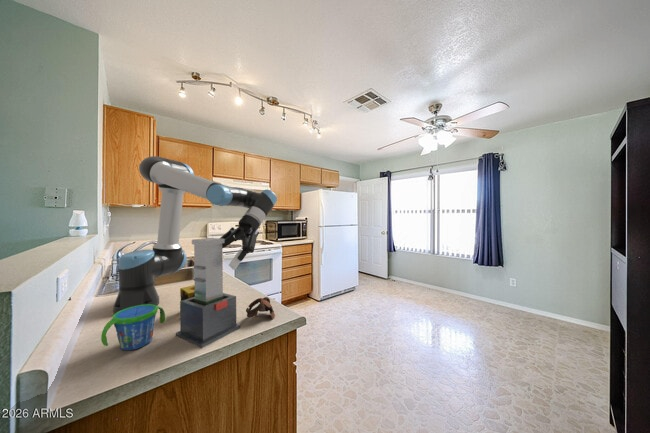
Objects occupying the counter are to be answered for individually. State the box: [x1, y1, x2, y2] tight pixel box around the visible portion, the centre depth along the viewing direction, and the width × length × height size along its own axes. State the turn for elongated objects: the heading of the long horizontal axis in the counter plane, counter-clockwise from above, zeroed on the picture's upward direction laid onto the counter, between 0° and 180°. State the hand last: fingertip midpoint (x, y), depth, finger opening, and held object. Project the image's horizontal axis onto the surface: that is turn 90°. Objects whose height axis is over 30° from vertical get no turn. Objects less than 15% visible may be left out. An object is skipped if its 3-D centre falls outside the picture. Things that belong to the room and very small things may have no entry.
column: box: [191, 237, 225, 306], centre depth 77 cm, size 7×7×24 cm
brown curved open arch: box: [245, 296, 276, 320], centre depth 89 cm, size 12×10×8 cm
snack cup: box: [100, 304, 166, 351], centre depth 70 cm, size 16×10×10 cm
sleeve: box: [175, 292, 242, 349], centre depth 77 cm, size 14×14×11 cm
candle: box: [179, 284, 195, 301], centre depth 93 cm, size 10×10×10 cm
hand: (218, 265), depth 80 cm, fingers open, 13 cm apart
